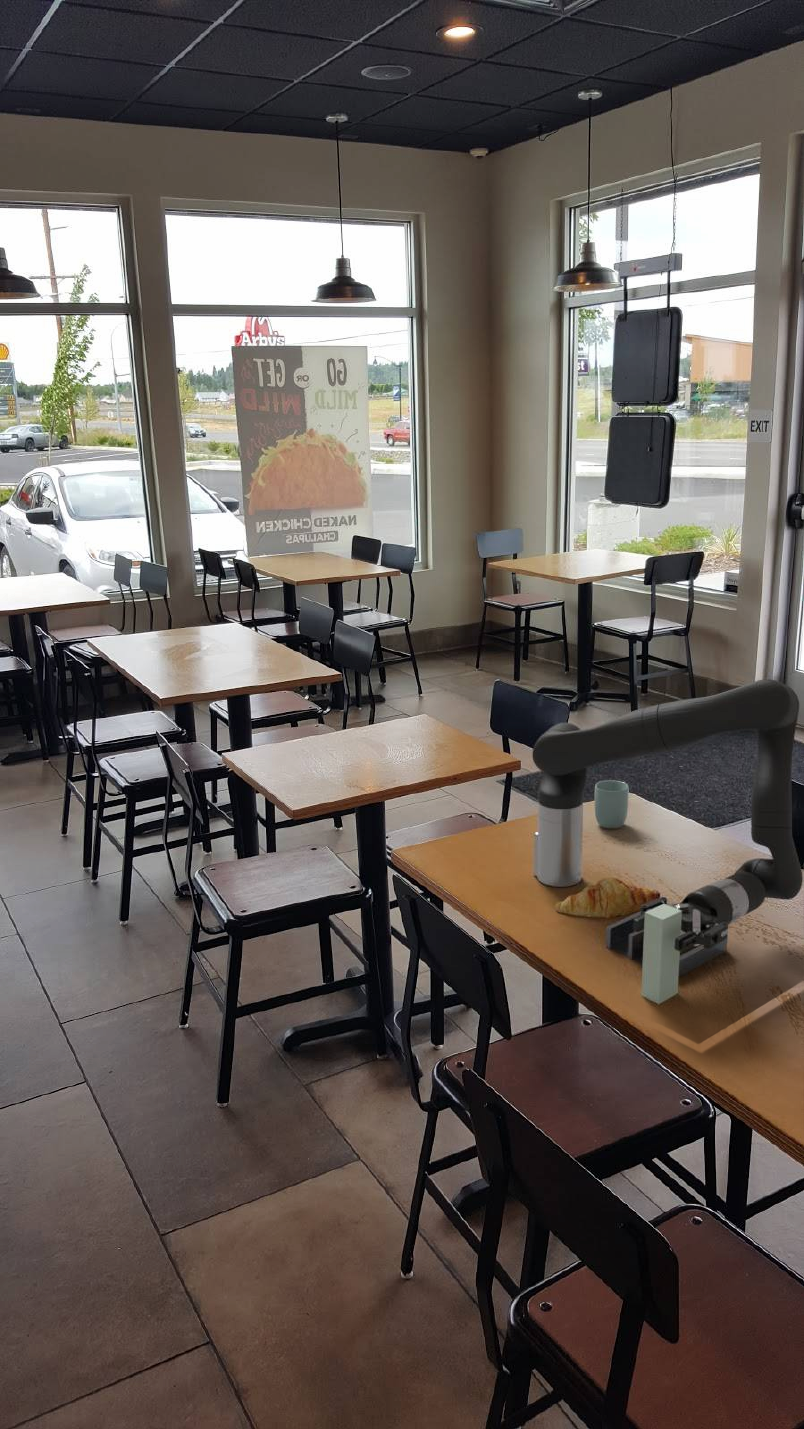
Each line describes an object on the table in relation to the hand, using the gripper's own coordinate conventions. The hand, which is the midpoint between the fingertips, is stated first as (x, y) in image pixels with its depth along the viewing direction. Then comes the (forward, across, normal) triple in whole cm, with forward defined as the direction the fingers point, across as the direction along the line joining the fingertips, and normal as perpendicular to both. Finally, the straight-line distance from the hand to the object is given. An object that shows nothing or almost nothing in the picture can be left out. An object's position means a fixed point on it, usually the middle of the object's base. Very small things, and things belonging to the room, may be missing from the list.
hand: (655, 935), depth 176 cm
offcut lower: (-15, -7, +12) cm, 20 cm away
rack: (-15, -10, +12) cm, 22 cm away
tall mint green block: (-2, 0, +12) cm, 13 cm away
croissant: (-20, -28, +13) cm, 37 cm away
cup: (-54, -56, +13) cm, 79 cm away
